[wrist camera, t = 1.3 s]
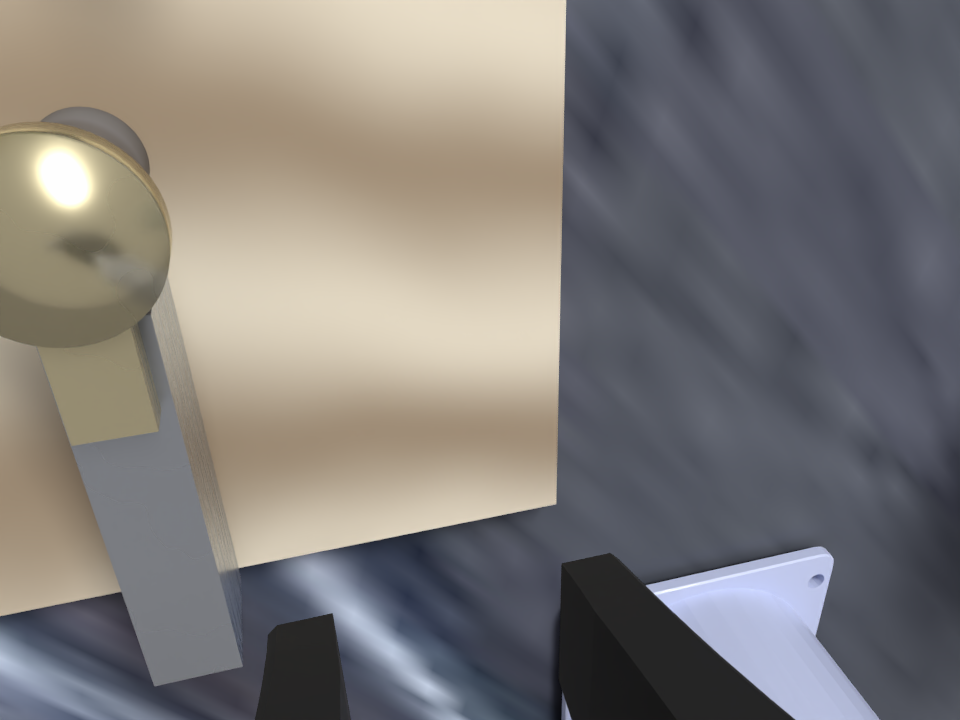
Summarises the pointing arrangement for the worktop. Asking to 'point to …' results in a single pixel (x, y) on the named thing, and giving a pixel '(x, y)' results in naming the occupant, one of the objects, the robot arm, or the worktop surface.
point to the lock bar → (121, 384)
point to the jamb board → (314, 262)
